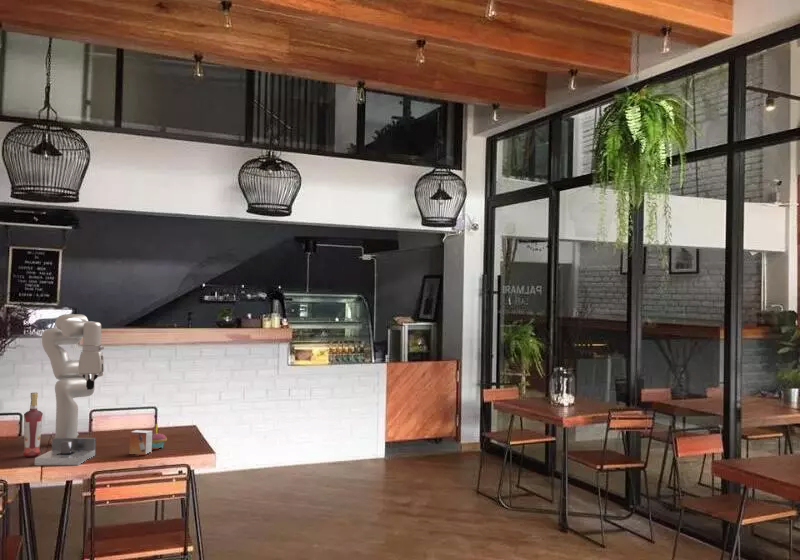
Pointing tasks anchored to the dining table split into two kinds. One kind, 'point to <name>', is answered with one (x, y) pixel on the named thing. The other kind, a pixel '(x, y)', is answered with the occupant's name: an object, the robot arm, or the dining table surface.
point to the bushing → (66, 448)
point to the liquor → (32, 429)
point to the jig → (80, 453)
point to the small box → (140, 442)
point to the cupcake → (158, 439)
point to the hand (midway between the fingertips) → (90, 389)
